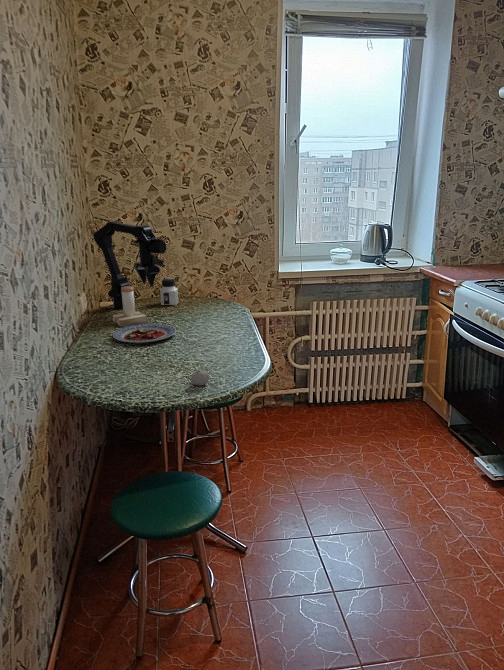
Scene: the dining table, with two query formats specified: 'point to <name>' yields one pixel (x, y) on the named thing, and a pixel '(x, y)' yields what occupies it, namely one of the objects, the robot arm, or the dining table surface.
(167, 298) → the container
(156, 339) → the ceramic plate
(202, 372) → the garlic
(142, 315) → the base block
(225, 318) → the dining table surface
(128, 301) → the jar
